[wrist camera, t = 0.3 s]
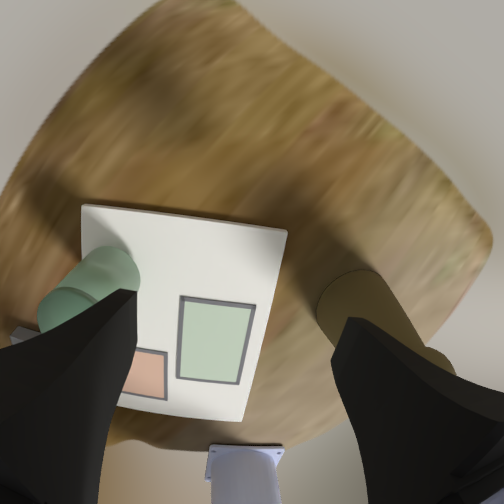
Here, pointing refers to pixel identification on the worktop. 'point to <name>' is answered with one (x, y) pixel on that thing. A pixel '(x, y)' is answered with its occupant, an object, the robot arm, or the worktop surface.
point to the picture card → (192, 306)
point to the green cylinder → (88, 285)
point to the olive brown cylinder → (371, 312)
